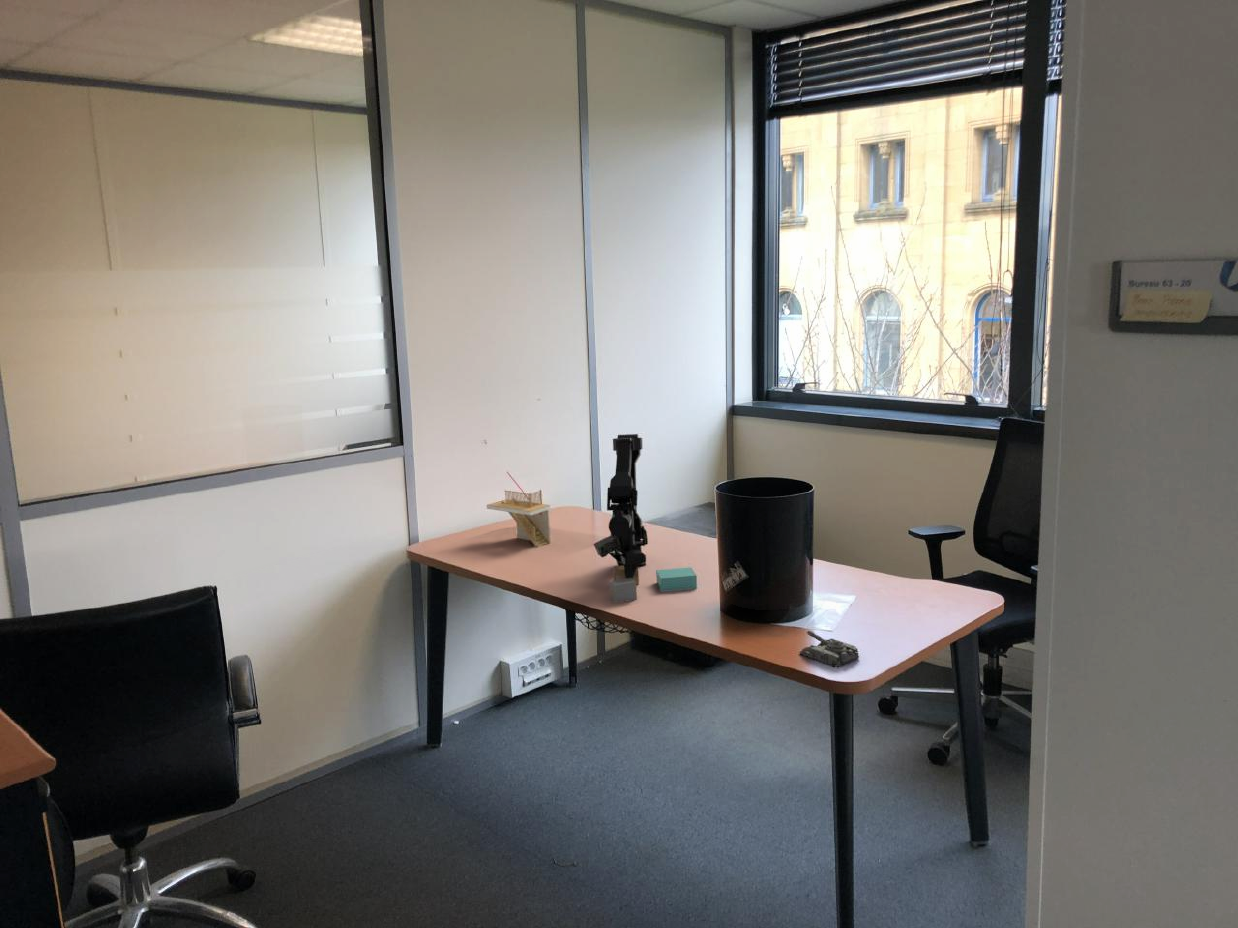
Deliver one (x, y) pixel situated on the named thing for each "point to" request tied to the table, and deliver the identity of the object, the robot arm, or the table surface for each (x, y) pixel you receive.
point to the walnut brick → (620, 574)
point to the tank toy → (830, 651)
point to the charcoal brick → (623, 590)
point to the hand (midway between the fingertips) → (626, 580)
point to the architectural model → (527, 516)
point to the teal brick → (676, 579)
